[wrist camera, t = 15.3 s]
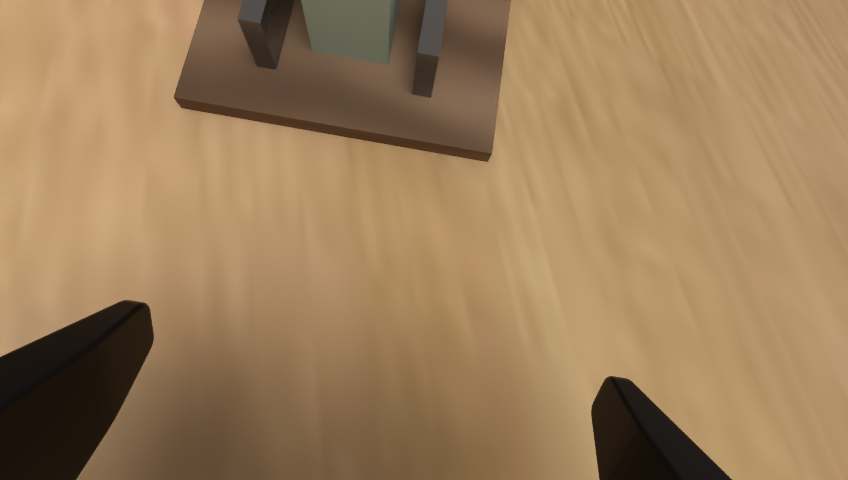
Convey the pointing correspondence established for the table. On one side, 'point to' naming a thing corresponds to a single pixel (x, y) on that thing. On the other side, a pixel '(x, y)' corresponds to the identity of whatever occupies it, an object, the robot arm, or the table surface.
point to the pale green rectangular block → (352, 27)
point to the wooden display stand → (355, 74)
